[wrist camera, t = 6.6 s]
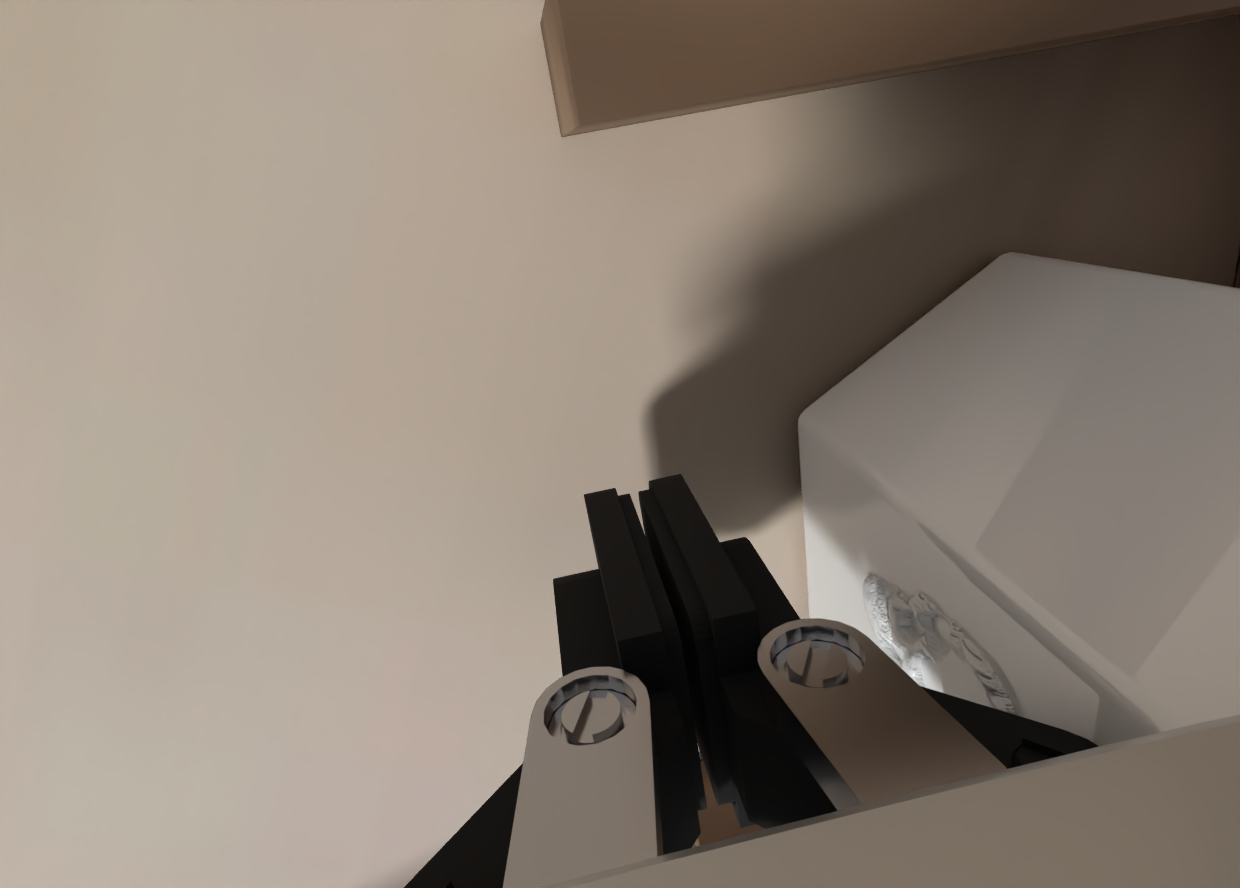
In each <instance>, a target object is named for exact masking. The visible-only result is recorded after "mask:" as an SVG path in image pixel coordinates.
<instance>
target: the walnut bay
mask: <svg viewBox="0 0 1240 888" xmlns="http://www.w3.org/2000/svg"><path fill="white" fill-rule="evenodd" d="M1237 14H1240V0H545V4H544V9H543V13H542V18H541V23H540V24H541V30H542V35H543V41H544V46H545V51H546V57H547V62H548V68H549V73H550V78H551V84H552V89H553V95H554V100H555V105H556V111H557V116H558V122H559V127H560V132H561V137H565V136H571V135H576V134H582V133H587V132H593V131H598V130H604V129H609V128H615V127H620V126H626V125H631V124H637V123H642V122H648V121H653V120H659V119H664V118H670V117H675V116H681V115H686V114H692V113H697V112H703V111H708V110H714V109H719V108H725V107H730V106H736V105H741V104H747V103H752V102H758V101H763V100H769V99H774V98H780V97H785V96H791V95H796V94H802V93H807V92H813V91H818V90H824V89H829V88H835V87H840V86H846V85H851V84H857V83H862V82H868V81H873V80H879V79H885V78H890V77H896V76H901V75H907V74H912V73H918V72H923V71H929V70H934V69H940V68H945V67H951V66H956V65H962V64H967V63H973V62H978V61H984V60H989V59H995V58H1000V57H1006V56H1011V55H1017V54H1022V53H1028V52H1033V51H1039V50H1044V49H1050V48H1055V47H1061V46H1066V45H1072V44H1077V43H1083V42H1088V41H1094V40H1099V39H1105V38H1110V37H1116V36H1121V35H1127V34H1132V33H1138V32H1143V31H1149V30H1154V29H1160V28H1165V27H1171V26H1176V25H1182V24H1187V23H1193V22H1198V21H1204V20H1209V19H1215V18H1220V17H1226V16H1231V15H1237ZM1235 288H1240V260H1239V265H1238V271H1237V277H1236V283H1235ZM700 764H701V770H702V777H703V783H704V789H705V796H706V802H707V809H704V810H700V811H698V817H699V823H700V829H701V834H700V835H699V837H698V838H697V840H696V841H695V846H696V847H697V846H701V845H705V844H709V843H713V842H717V841H721V840H725V839H729V838H733V837H737V836H741V835H745V834H749V833H752V832H756V831H760V830H764V829H765V828H763V827H761V826H758V825H752V826H748V827H744V828H740V825H739V822H738V819H737V817H736V814H735V811H734V808H733V805H732V803H728V804H724V805H720V806H719V805H718V804H717V801H716V799H715V796H714V793H713V789H712V786H711V783H710V780H709V777H708V774H707V771H706V768H705V765H704V762H703V761H700Z"/></svg>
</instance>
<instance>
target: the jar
mask: <svg viewBox="0 0 1240 888" xmlns="http://www.w3.org/2000/svg"><path fill="white" fill-rule="evenodd" d="M798 439H799V456H800V473H801V490H802V507H803V523H804V540H805V557H806V574H807V590H808V607H809V615H810V619H811V618H822V619H828V620H834V621H839V622H842V623H844V624H847V625H849V626H852V627H855V628H856V629H857V630H859V631H860V632H862V633H863V634H865V635H866V636H867V637H869V638H870V639H871V640H872V641H873V642H874V643H875V644H876V645H877V646H878V647H879V648H880V649H881V650H882V651H883V652H884V653H885V654H887V655H888V656H889V657H890V658H891V659H892V660H893V661H894V662H895V663H896V664H897V665H898V666H899V667H900V668H901V669H902V670H903V671H905V672H906V673H907V674H908V675H909V676H910V677H911V678H912V679H913V680H914V681H915V682H916V683H917V684H918V685H919V686H922V687H925V688H929V689H932V690H935V691H938V692H942V693H945V694H948V695H952V696H955V697H958V698H961V699H965V700H968V701H971V702H975V703H978V704H981V705H984V706H988V707H991V708H994V709H998V710H1001V711H1004V712H1007V713H1011V714H1014V715H1017V716H1021V717H1024V718H1027V719H1031V720H1034V721H1037V722H1040V723H1044V724H1047V725H1050V726H1054V727H1057V728H1060V729H1063V730H1066V731H1069V732H1071V733H1074V734H1076V735H1079V736H1081V737H1083V738H1086V739H1088V740H1090V741H1091V742H1093V743H1095V744H1096V745H1098V746H1104V745H1108V744H1112V743H1116V742H1121V741H1125V740H1130V739H1134V738H1138V737H1143V736H1147V735H1151V734H1156V733H1160V732H1164V731H1168V730H1172V729H1176V728H1180V727H1185V726H1189V725H1193V724H1197V723H1201V722H1206V721H1211V720H1216V719H1221V718H1226V717H1231V716H1236V715H1240V288H1235V287H1229V286H1222V285H1216V284H1210V283H1204V282H1198V281H1191V280H1185V279H1179V278H1173V277H1166V276H1160V275H1154V274H1148V273H1141V272H1135V271H1129V270H1123V269H1117V268H1110V267H1104V266H1098V265H1092V264H1085V263H1079V262H1073V261H1067V260H1060V259H1054V258H1048V257H1042V256H1036V255H1029V254H1023V253H1017V252H1011V253H1005V254H1003V255H1001V256H999V257H998V258H996V259H995V260H994V261H992V262H991V263H990V264H989V265H987V266H986V267H985V268H984V269H982V270H981V271H980V272H979V273H977V274H976V275H975V276H973V277H972V278H971V279H970V280H968V281H967V282H966V283H965V284H963V285H962V286H961V287H960V288H958V289H957V290H956V291H954V292H953V293H952V294H951V295H949V296H948V297H947V298H946V299H944V300H943V301H942V302H941V303H939V304H938V305H937V306H935V307H934V308H933V309H932V310H930V311H929V312H928V313H927V314H925V315H924V316H923V317H921V318H920V319H919V320H918V321H916V322H915V323H914V324H913V325H911V326H910V327H909V328H908V329H906V330H905V331H904V332H902V333H901V334H900V335H899V336H897V337H896V338H895V339H894V340H892V341H891V342H890V343H888V344H887V345H886V346H885V347H883V348H882V349H881V350H880V351H878V352H877V353H876V354H875V355H873V356H872V357H871V358H869V359H868V360H867V361H866V362H864V363H863V364H862V365H861V366H859V367H858V368H857V369H855V370H854V371H853V372H852V373H850V374H849V375H848V376H847V377H845V378H844V379H843V380H841V381H840V382H839V383H838V384H836V385H835V386H834V387H833V388H831V389H830V390H829V391H827V392H826V393H825V394H824V395H822V396H821V397H820V398H819V399H817V400H816V401H815V402H813V403H812V404H811V405H810V406H808V407H807V408H806V409H804V410H803V412H802V413H801V414H800V416H799V419H798Z"/></svg>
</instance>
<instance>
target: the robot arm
mask: <svg viewBox="0 0 1240 888" xmlns="http://www.w3.org/2000/svg"><path fill="white" fill-rule="evenodd" d="M584 498H585V503H586V508H587V513H588V518H589V523H590V528H591V533H592V538H593V543H594V548H595V553H596V558H597V563H598V567H599V569H596V570H591V571H587V572H582V573H578V574H573V575H569V576H564V577H560V578H555V579H553V585H554V595H555V605H556V615H557V625H558V635H559V644H560V654H561V664H562V674H563V677H561V678H559V679H558V680H557V681H555V682H554V683H553V684H551V685H550V686H549V687H548V688H546V689H545V691H544V692H543V693H542V694H541V696H540V697H539V698H538V700H537V701H536V703H535V706H534V708H533V711H532V714H531V718H530V724H529V731H528V737H527V743H526V749H525V755H524V761H523V764H522V765H521V766H520V767H519V768H518V769H517V770H516V771H515V772H514V773H513V774H512V775H511V776H510V777H509V778H508V779H507V780H506V781H505V782H504V783H503V785H502V786H501V787H500V788H499V789H498V790H497V791H496V792H495V793H494V794H493V795H492V796H491V797H490V798H489V799H488V800H487V801H486V802H485V803H484V804H483V805H482V806H481V808H480V809H479V810H478V811H477V812H476V813H475V814H474V815H473V816H472V817H471V818H470V819H469V820H468V821H467V822H466V823H465V824H464V825H463V826H462V827H461V828H460V829H459V831H458V832H457V833H456V834H455V835H454V836H453V837H452V838H451V839H450V840H449V841H448V842H447V843H446V844H445V845H444V846H443V847H442V848H441V849H440V850H439V851H438V852H437V854H436V855H435V856H434V857H433V858H432V859H431V860H430V861H429V862H428V863H427V864H426V865H425V866H424V867H423V868H422V869H421V870H420V871H419V872H418V873H417V874H416V875H415V877H414V878H413V879H412V880H411V881H410V882H409V883H408V884H407V885H406V886H405V887H404V888H1240V715H1236V716H1231V717H1226V718H1221V719H1216V720H1211V721H1206V722H1201V723H1197V724H1193V725H1189V726H1185V727H1180V728H1176V729H1172V730H1168V731H1164V732H1160V733H1156V734H1151V735H1147V736H1143V737H1138V738H1134V739H1130V740H1125V741H1121V742H1116V743H1112V744H1108V745H1104V746H1098V745H1096V744H1095V743H1093V742H1091V741H1090V740H1088V739H1086V738H1083V737H1081V736H1079V735H1076V734H1074V733H1071V732H1069V731H1066V730H1063V729H1060V728H1057V727H1054V726H1050V725H1047V724H1044V723H1040V722H1037V721H1034V720H1031V719H1027V718H1024V717H1021V716H1017V715H1014V714H1011V713H1007V712H1004V711H1001V710H998V709H994V708H991V707H988V706H984V705H981V704H978V703H975V702H971V701H968V700H965V699H961V698H958V697H955V696H952V695H948V694H945V693H942V692H938V691H935V690H932V689H929V688H925V687H922V686H919V685H918V684H917V683H916V682H915V681H914V680H913V679H912V678H911V677H910V676H909V675H908V674H907V673H906V672H905V671H903V670H902V669H901V668H900V667H899V666H898V665H897V664H896V663H895V662H894V661H893V660H892V659H891V658H890V657H889V656H888V655H887V654H885V653H884V652H883V651H882V650H881V649H880V648H879V647H878V646H877V645H876V644H875V643H874V642H873V641H872V640H871V639H870V638H869V637H867V636H866V635H865V634H863V633H862V632H860V631H859V630H857V629H856V628H855V627H852V626H849V625H847V624H844V623H842V622H839V621H834V620H828V619H822V618H811V619H800V618H799V616H798V615H797V613H796V612H795V610H794V609H793V607H792V606H791V604H790V603H789V601H788V599H787V598H786V596H785V595H784V593H783V592H782V590H781V589H780V587H779V586H778V584H777V582H776V581H775V579H774V578H773V576H772V575H771V573H770V572H769V570H768V569H767V567H766V566H765V564H764V562H763V561H762V559H761V558H760V556H759V555H758V553H757V552H756V550H755V549H754V547H753V545H752V544H751V542H750V541H749V540H748V539H747V538H745V537H742V538H738V539H733V540H729V541H724V542H719V540H718V539H717V537H716V535H715V533H714V532H713V530H712V528H711V526H710V524H709V523H708V521H707V519H706V517H705V516H704V514H703V512H702V510H701V509H700V507H699V505H698V503H697V501H696V500H695V498H694V496H693V494H692V493H691V491H690V489H689V487H688V485H687V484H686V482H685V480H684V478H683V477H682V475H681V474H679V475H674V476H670V477H665V478H660V479H655V480H651V481H649V490H644V491H639V501H640V507H641V513H642V519H643V525H644V531H645V534H644V532H643V529H642V526H641V523H640V521H639V518H638V515H637V512H636V510H635V507H634V504H633V502H632V499H631V496H630V494H625V495H621V496H618V494H617V491H616V489H615V488H613V489H608V490H603V491H598V492H594V493H589V494H584ZM697 743H698V745H697ZM698 747H699V750H700V753H701V756H702V759H703V762H704V765H705V768H706V771H707V774H708V777H709V780H710V783H711V786H712V789H713V793H714V796H715V799H716V801H717V804H718V805H719V806H720V805H724V804H728V803H732V805H733V808H734V811H735V814H736V817H737V819H738V822H739V825H740V828H744V827H748V826H752V825H758V826H761V827H763V828H765V829H764V830H760V831H756V832H752V833H749V834H745V835H741V836H737V837H733V838H729V839H725V840H721V841H717V842H713V843H709V844H705V845H701V846H697V847H693V848H692V846H693V844H694V843H695V841H696V840H697V838H698V837H699V835H700V834H701V829H700V823H699V817H698V811H700V810H704V809H707V802H706V796H705V789H704V783H703V777H702V770H701V764H700V757H699V751H698Z"/></svg>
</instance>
